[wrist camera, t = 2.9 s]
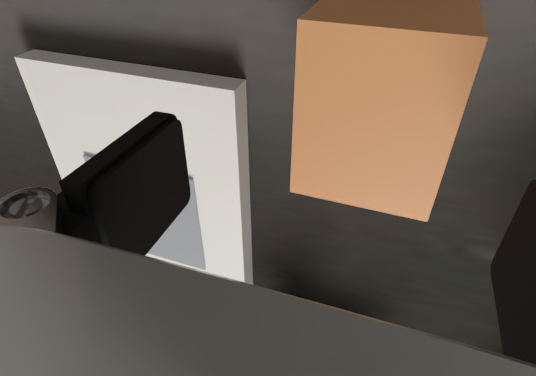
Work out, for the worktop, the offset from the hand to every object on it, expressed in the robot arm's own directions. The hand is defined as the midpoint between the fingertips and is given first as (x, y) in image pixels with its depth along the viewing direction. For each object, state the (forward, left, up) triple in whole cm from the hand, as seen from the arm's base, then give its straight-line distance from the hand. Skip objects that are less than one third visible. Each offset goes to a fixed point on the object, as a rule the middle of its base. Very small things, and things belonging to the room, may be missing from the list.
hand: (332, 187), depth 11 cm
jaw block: (-1, +1, -9) cm, 9 cm away
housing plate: (+11, -13, -9) cm, 20 cm away
